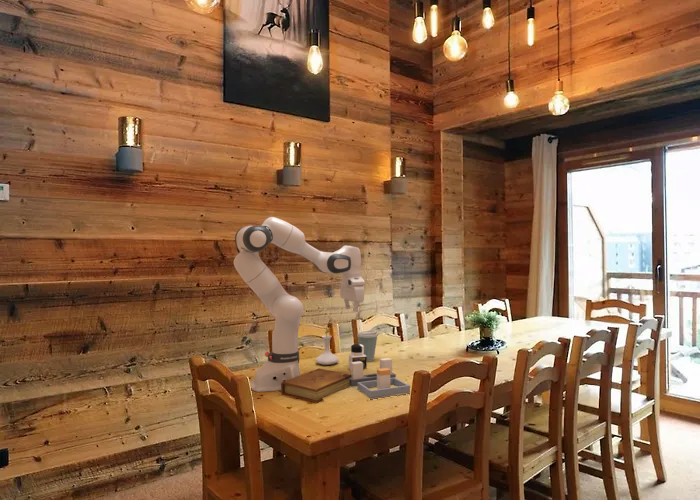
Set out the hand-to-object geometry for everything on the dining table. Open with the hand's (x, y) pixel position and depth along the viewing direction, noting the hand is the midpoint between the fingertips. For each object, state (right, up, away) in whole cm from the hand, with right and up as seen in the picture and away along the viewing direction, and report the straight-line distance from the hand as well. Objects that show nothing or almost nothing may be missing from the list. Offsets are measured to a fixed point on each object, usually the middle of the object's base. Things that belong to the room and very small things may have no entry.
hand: (351, 310), depth 225 cm
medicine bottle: (+3, -30, +9) cm, 31 cm away
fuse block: (+9, -30, -14) cm, 34 cm away
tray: (+13, -30, -27) cm, 42 cm away
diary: (-14, -31, -24) cm, 41 cm away
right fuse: (+15, -29, -11) cm, 35 cm away
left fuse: (+2, -29, -17) cm, 34 cm away
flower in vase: (-12, -30, +21) cm, 38 cm away
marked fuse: (+13, -30, -27) cm, 42 cm away
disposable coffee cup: (+8, -29, +27) cm, 41 cm away
